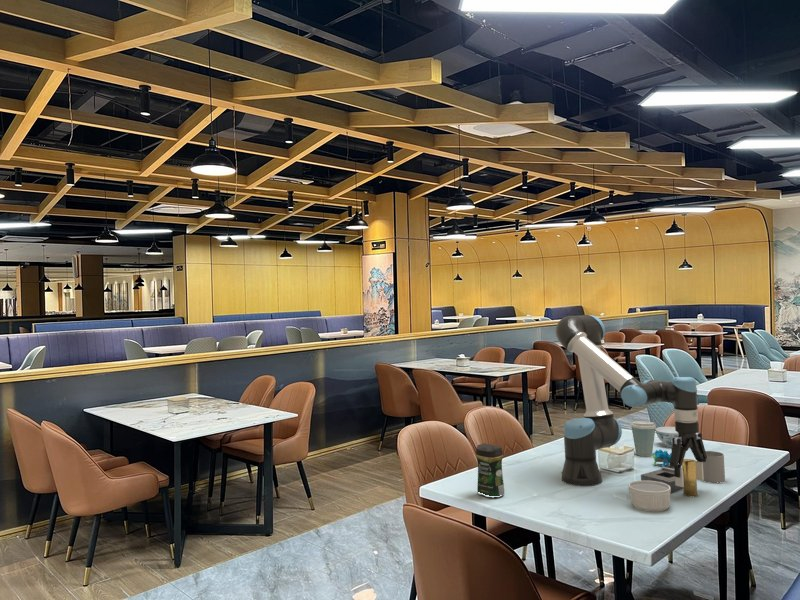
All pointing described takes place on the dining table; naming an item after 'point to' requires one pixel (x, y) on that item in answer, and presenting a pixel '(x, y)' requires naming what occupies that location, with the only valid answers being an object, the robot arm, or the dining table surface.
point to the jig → (662, 477)
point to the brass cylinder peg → (689, 477)
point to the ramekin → (650, 495)
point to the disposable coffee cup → (643, 437)
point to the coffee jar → (490, 470)
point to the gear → (661, 457)
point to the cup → (714, 467)
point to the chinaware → (667, 435)
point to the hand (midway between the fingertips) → (689, 483)
